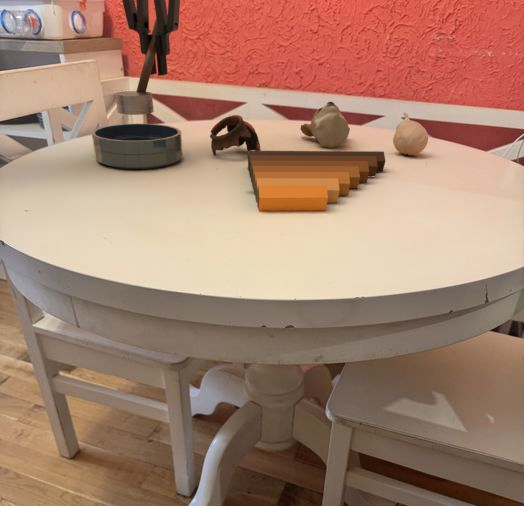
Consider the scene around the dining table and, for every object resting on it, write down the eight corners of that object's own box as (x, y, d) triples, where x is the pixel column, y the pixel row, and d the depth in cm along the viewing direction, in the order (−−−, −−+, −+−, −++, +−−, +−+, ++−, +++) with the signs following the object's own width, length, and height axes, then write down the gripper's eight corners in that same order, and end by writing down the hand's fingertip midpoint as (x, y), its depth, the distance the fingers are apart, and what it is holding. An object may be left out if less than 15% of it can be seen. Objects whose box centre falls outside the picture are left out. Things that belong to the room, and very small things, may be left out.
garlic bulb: (418, 151, 108) (426, 111, 103) (427, 158, 102) (436, 116, 98) (388, 151, 107) (395, 110, 103) (396, 158, 102) (403, 115, 98)
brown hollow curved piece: (267, 162, 98) (249, 125, 92) (224, 182, 101) (204, 147, 95) (260, 133, 106) (244, 97, 100) (221, 153, 108) (202, 119, 102)
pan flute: (378, 167, 95) (247, 167, 93) (381, 149, 93) (247, 148, 91) (424, 211, 75) (259, 212, 73) (429, 188, 73) (259, 188, 71)
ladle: (144, 115, 88) (133, 18, 80) (111, 113, 89) (97, 17, 81) (182, 101, 102) (176, 17, 94) (153, 99, 103) (145, 16, 95)
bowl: (79, 166, 91) (74, 136, 88) (121, 147, 104) (118, 121, 101) (162, 174, 88) (159, 144, 85) (194, 153, 101) (193, 127, 98)
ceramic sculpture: (312, 104, 101) (300, 98, 114) (309, 149, 105) (297, 139, 118) (363, 105, 102) (345, 99, 115) (358, 150, 106) (341, 139, 119)
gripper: (192, -83, 85) (199, 74, 98) (114, -82, 88) (131, 70, 101) (175, -90, 79) (185, 78, 92) (92, -89, 82) (113, 74, 95)
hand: (157, 74), depth 97 cm, fingers closed on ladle, 2 cm apart
